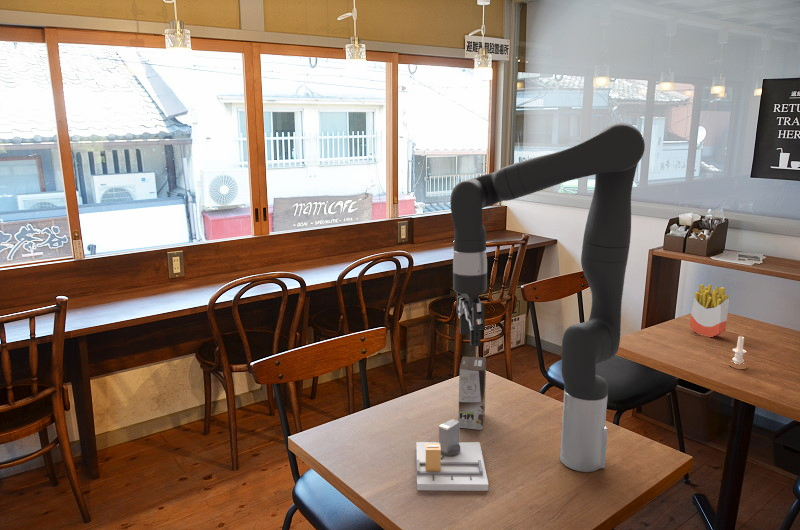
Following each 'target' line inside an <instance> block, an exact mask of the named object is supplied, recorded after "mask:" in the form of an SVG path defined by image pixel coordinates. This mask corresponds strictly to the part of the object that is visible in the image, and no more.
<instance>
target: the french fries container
mask: <svg viewBox="0 0 800 530" xmlns="http://www.w3.org/2000/svg"><path fill="white" fill-rule="evenodd" d="M692 303H693V304H692V308H691V312H690V313H691V314H690V322H689V326H690V328H691V329H692V330H693V331H694V332H696V333H699V334H703V335H707V336H710V337H712V338H715V337H718V336H719V335H721V334H723V333H725V332H726V329H727V320H728V314H729V313H728V312H729V304H730V297H729V295H728V294H726V288H725V287H719V286H715V289H712V284H707V286H705V284H699V285H698V291H696V292H694V298H693V302H692ZM696 333H695V334H696ZM699 334H698V335H699ZM703 335H702V336H703ZM714 336H715V337H714Z"/></svg>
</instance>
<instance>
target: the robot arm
mask: <svg viewBox="0 0 800 530" xmlns="http://www.w3.org/2000/svg"><path fill="white" fill-rule="evenodd" d="M645 144H646V143H645V140H644V137H643V134H642V133H641V131H640V130H639V129H638V128H637V127H636V126H634V125H633V124H630V123H628V122H624V121H618V122H613V123H611V124H609V125H607V126H606V127H604V128H603V129H602V130H601V131H600V132H599V133H598V134H596V135H594V136H592V137H591V138H588V139H587V140H585V141H583V142H581V143H579V144H577V145H574V146H571V147H569V148H566V149H563V150H560V151H556V152H553V153H548V154H544V155H540V156H536V157H532V158H528V159H525V160H522V161H521V160H520V161H519V162H516V163H513V164H510V165H507V166H504V167H502V168H499V169H497V170H495V171H494V172H491V173H487V174H483V175H480V176H477V177H474V178H473V177H472V178H469V179H466V180H462V181H460V182H458V183H457V184H456V185H455V186H454V187H453V188H452V191H451V194H450V213H451V219H452V226H453V228H454V229H453V230H454V232H453V258H452V289H453V291H454V292H455V293H456V310H455V312H456V314H457V315H458V317H457V318H458V319H459V333H460V335H462V336H465V335H469V334H470V335H469V345H470V346H471V347H480V346H481V345H482V341H481V340H482V337H481V336H482V335H481V333H482V332H481V331H482V330H485V327H486V325H485V324H486V323H485V317H486V316H485V306H486V305H485V302H482V301H481V300H480V297H479V296H480V295H481V294H483V293H485V292H486V291H487V290H488V258H487V257H488V256H487V230H486V227H485V225H484V224H483V223H484V222H483V209H484V208H487V207H490V206H492V205H495V204H498V203H501V202H507V201H511V200H516V199H518V198H522V197H525V196H529V195H531V194H534V193H538V192H541V191H544V190H546V189H549V188H553V187H554V186H558V185H560V184H563V183H567V182H570V181H574V180H577V179H581V178H585V177H590V176H595V179H594V190H593V195H592V199H591V203H590V207H589V211H588V214H587V219H586V223H585V227H584V228H585V229H584V233H583V238H582V246H581V247H582V248H581V254H580V263H581V269H582V272H583V276H584V277H585V279H586V282H587V284H588V286H589V289H590V293H591V308H590V314H589V317H588V318H589V319H588V320H587V321H584V322H580V323H575V324H572V325H569V326H568V327H567V328H566V330H565V331H564V333H563V335H562V338H561V339H562V340H561V376H562V381H563V382H564V383H563V385H564V386H563V387H564V389H563V404H562V418H561V419H562V421H561V423H562V424H561V438H560V451H559V452H560V455H559V461H560V462H561V464H563V465H564V466H565V467H567V468H568V469H571V470H572V471H573V470H574V471H577V472H583V473H589V472H590V473H591V472H595V471H597V470H600V469H606V461H607V460H606V459H607V450H608V449H607V448H608V435H609V434H608V433H609V430H608V429H609V428H608V427H607V426H606V422H607V421H606V420H607V408H608V407H607V406H608V405H607V404H608V396H609V395H608V394H609V384H608V381H607V379H606V378H604V377H603V376H601V375H599V374H597V373H596V372H597V371H596V366H597V364H599V363H603V362H606V361H610V360H611V359H612V358H613V357H615V356H616V354H617V353H618V351H619V348H620V343H621V331H622V330H621V324H622V323H621V322H622V303H623V301H622V300H623V295H624V285H625V277H626V269H627V266H628V259H629V253H630V246H631V245H630V244H631V235H632V193H633V192H632V191H633V186H634V185H633V184H634V181H635V176H636V171H637V168H638V164H639V162H640V161H641V160H642V157H643V156H644V152H645V148H646V147H645Z"/></svg>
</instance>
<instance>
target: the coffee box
mask: <svg viewBox="0 0 800 530" xmlns="http://www.w3.org/2000/svg"><path fill="white" fill-rule="evenodd" d="M486 373H487V357H483V356H482V357H481V356H462V358H461V361H460V364H459V379H458V380H459V384H458V386H459V387H458V388H459V389H458V416H457V417H458V418H457V419H458V420H457V421H459V429H470V430H478V431H479V430H480V431H481V430H483V427H484V420H485V413H486V412H485V411H486V409H485V408H486V382H487V381H486V380H487V379H486V378H487V376H486V375H487V374H486Z"/></svg>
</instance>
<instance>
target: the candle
mask: <svg viewBox="0 0 800 530" xmlns="http://www.w3.org/2000/svg"><path fill="white" fill-rule="evenodd" d="M737 338H738V339H737V344H736V347H735V348H732V352H734V357H732V362H734V363H735V364H739V365H740V364H741V363H744V362H745V360H744V359H743V357H744V354H745V353H747V350H745V349H744V342H745V337H744V336H743V335H739V336H738V337H737Z"/></svg>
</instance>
